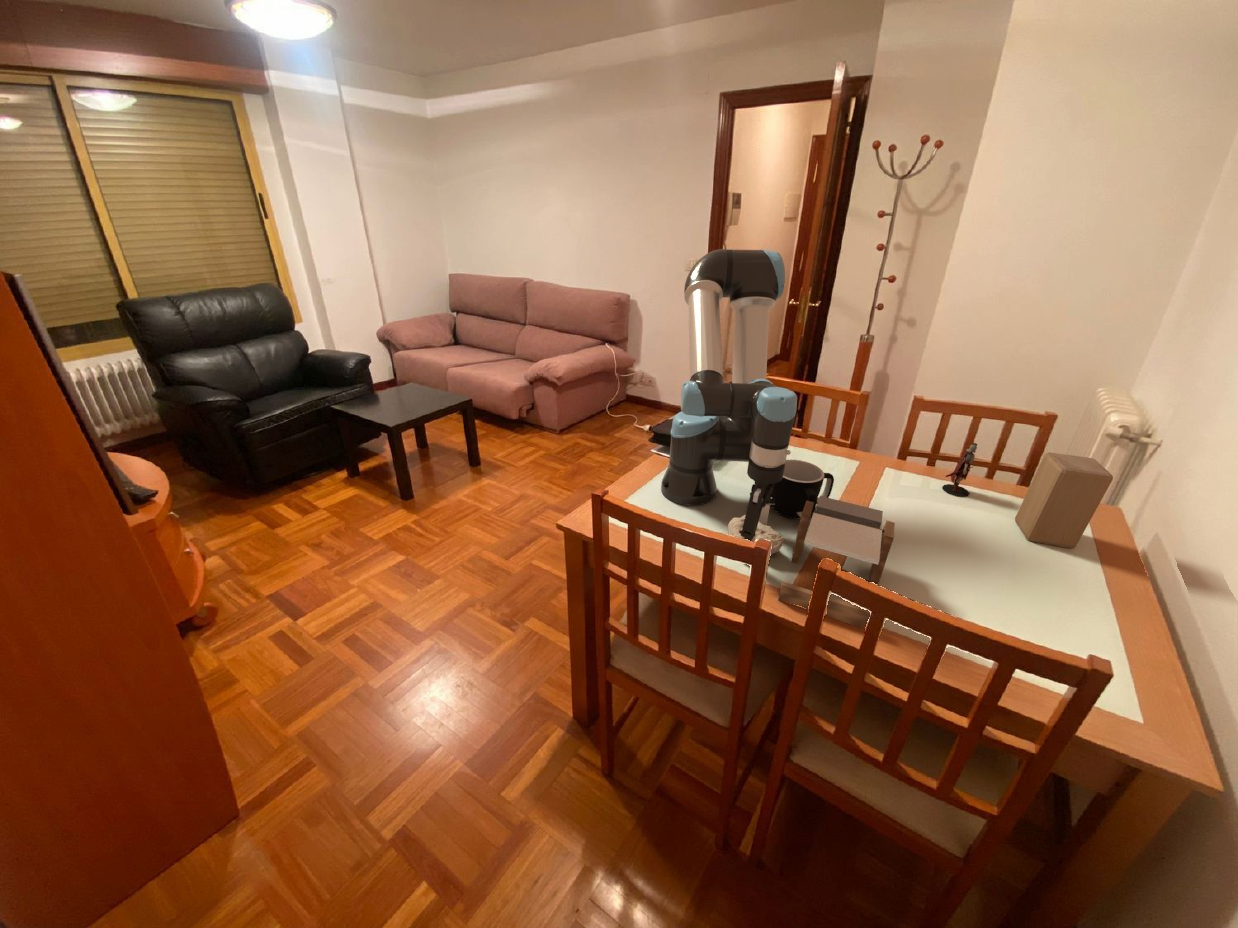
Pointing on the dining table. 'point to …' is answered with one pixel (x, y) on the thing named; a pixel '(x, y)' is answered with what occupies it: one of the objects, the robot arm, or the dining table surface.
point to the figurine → (961, 473)
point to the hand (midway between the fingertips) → (753, 541)
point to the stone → (757, 533)
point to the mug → (799, 488)
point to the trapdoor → (846, 529)
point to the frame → (835, 606)
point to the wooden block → (1062, 499)
